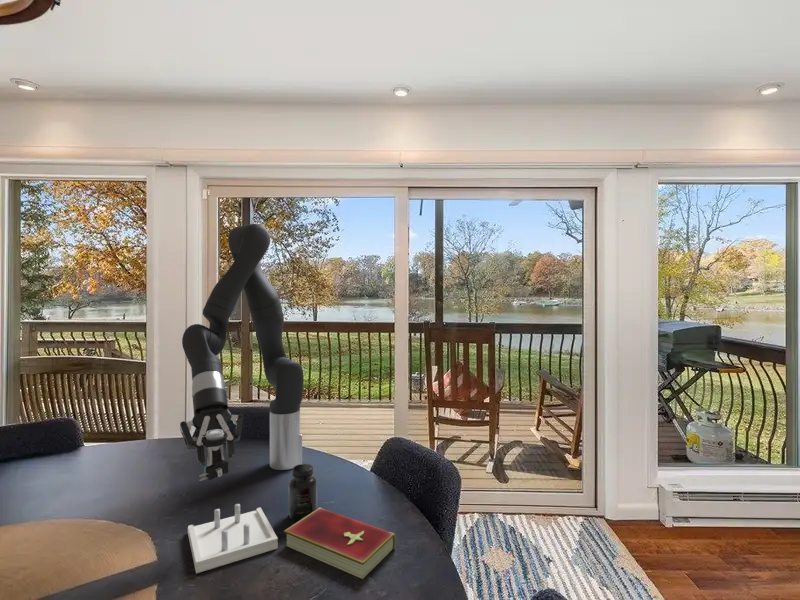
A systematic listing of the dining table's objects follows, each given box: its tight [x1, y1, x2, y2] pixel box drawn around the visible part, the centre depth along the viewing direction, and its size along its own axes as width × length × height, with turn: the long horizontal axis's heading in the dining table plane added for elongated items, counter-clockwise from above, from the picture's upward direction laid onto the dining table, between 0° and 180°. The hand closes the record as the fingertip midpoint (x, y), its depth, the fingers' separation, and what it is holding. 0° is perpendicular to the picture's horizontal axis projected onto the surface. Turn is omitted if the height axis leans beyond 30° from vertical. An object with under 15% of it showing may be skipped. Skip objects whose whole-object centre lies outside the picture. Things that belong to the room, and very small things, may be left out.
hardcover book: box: [283, 507, 397, 580], centre depth 94 cm, size 12×21×4 cm, turn 59°
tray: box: [187, 503, 279, 574], centre depth 96 cm, size 16×16×5 cm
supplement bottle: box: [288, 463, 318, 523], centre depth 106 cm, size 7×7×12 cm
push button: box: [198, 429, 229, 482], centre depth 97 cm, size 7×5×10 cm
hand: (216, 461), depth 95 cm, fingers closed on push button, 5 cm apart
